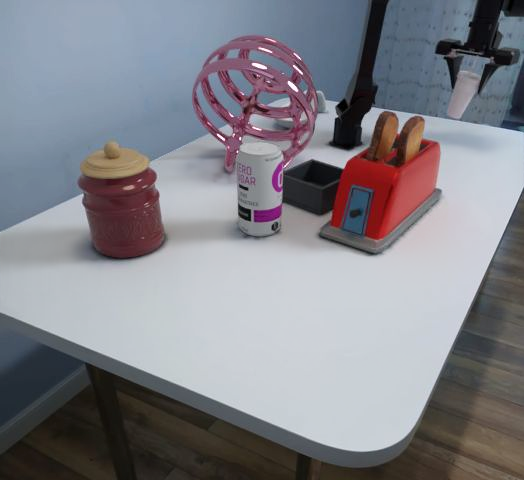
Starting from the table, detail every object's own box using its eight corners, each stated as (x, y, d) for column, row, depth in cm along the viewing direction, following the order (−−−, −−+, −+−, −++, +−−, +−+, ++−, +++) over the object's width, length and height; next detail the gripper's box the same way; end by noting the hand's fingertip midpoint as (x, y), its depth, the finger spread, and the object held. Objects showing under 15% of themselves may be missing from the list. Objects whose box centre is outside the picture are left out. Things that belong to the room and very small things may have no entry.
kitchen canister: (163, 222, 96) (150, 126, 84) (168, 255, 86) (154, 153, 75) (94, 228, 94) (71, 131, 82) (91, 263, 84) (64, 159, 73)
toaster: (378, 256, 86) (397, 146, 74) (315, 236, 92) (324, 130, 80) (443, 195, 106) (467, 100, 94) (388, 181, 112) (404, 89, 99)
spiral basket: (261, 105, 87) (302, -13, 94) (147, 122, 102) (189, 19, 108) (318, 198, 111) (348, 99, 117) (218, 201, 125) (250, 112, 131)
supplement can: (286, 221, 96) (289, 142, 87) (273, 241, 90) (275, 158, 81) (247, 215, 98) (246, 137, 89) (232, 234, 92) (228, 152, 83)
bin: (276, 198, 104) (277, 173, 101) (310, 182, 111) (312, 158, 107) (320, 215, 99) (322, 189, 95) (353, 197, 105) (356, 172, 102)
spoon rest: (302, 135, 135) (304, 107, 130) (265, 129, 140) (265, 101, 135) (336, 113, 151) (338, 87, 146) (301, 108, 155) (303, 82, 150)
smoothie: (437, 108, 129) (462, 49, 119) (459, 111, 130) (486, 53, 120) (446, 119, 125) (473, 58, 115) (469, 122, 126) (497, 62, 116)
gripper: (539, 18, 113) (515, 93, 123) (462, 9, 122) (445, 79, 132) (522, 22, 107) (497, 101, 117) (442, 13, 116) (426, 86, 126)
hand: (465, 91), depth 123 cm, fingers closed on smoothie, 6 cm apart
